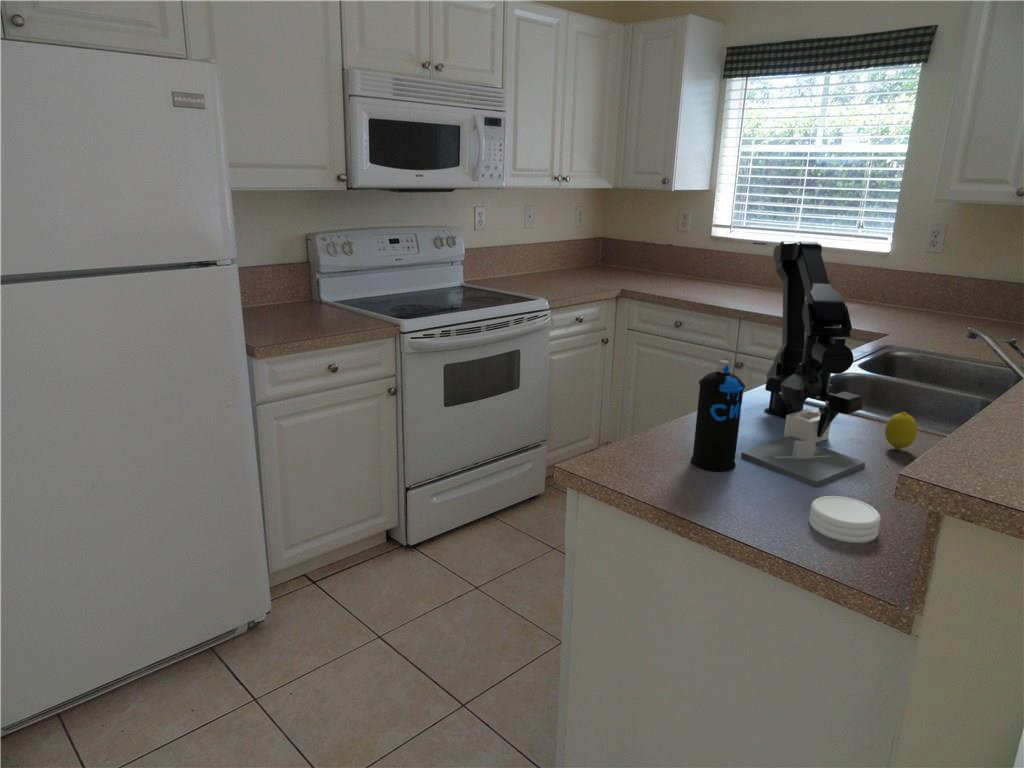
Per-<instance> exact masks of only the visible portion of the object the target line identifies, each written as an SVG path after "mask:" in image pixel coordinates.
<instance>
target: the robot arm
mask: <svg viewBox="0 0 1024 768" xmlns="http://www.w3.org/2000/svg"><path fill="white" fill-rule="evenodd" d="M822 246H823V245H822V244H821V243H820V242H818V241H784V240H781V242H780V243H779V244H777V245H775V247H774V249H773V252H772V253H773V254H772V256H773V257H772V258H773V262H774V263H775V271H776V273H777V275H778V277H779V278H780V280H781V281H782V332H781V333H782V336H781V337H782V338H781V339H782V340H781V343H782V344H781V347H780V348H779V350H778V351H777V353H776V354H775V356H774V360H773V361H774V362H773V363H772V365H771V367H770V369H769V370H768V372H767V373H766V382H765V387H764V389H765V391H767V392H770V397H769V405H768V407H766V408H764V410H763V411H764V412H766V413H769V414H773V415H775V416H778V417H781V418H785V419H786V415H788V414H791V413H794V412H798V411H801V410H804V406H805V405H804V404H805V402H806V400H807V399H811V400H814V399H815V400H816V399H817V400H818V401H823V402H824V406H821V407H818V411H820V414H821V415H820V420H819V426H818V432H817V437H822V435H823V434H824V432H825V431H826V430H827V428H828V427H829V425H830V426H831V423H832V422H833V421H834V420H835V419H836V417H837V416H838V415H839V414H843V415H849V414H850V415H851V414H852V413H856V412H858V411H861V410H863V406H864V401H863V400H864V399H863V398H862V396H861V395H859V394H856V393H852V392H849V391H844V390H843V391H841V392H837V393H836V394H835V393H832V392H829V391H832V390H833V387H834V386H833V384H831V383H830V382H831V376H832V375H840V374H844V373H845V372H846V371H848V370H849V369H850V368H851V367H852V365H853V362H854V354H853V350H852V349H851V348H850V347H849V346H847V345H846V338H850V337H851V331H852V329H853V327H852V322H851V321H852V320H851V317H850V311H849V309H848V305H847V304H846V302H845V301H844V298H843V296H842V294H841V293H840V292H839V291H837V290H836V289H835V288H833V287H832V285H831V283H830V278H829V275H828V272H827V268H826V266H825V262H824V259H823V255H822V253H823V252H822V251H823V249H822Z"/></svg>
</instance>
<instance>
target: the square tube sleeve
mask: <svg viewBox="0 0 1024 768" xmlns="http://www.w3.org/2000/svg"><path fill="white" fill-rule="evenodd" d="M820 415H821V414H820V411H819V410H813V409H811V408H803V410H801V411H798V412H794V413H791V414H788V415H786V418H785V423H784V425H785V426H784V430H783V431H784V432H783V437H785V438H786V437H789V436H793V437H795V438H798V439H801V440H804V441H813V442H814V443H815V444H817V443H819V441H820V442H822V440H823V441H825V440H828V439H829V435H830V429H831V424H830V425H829V427H828V428H827V430H826V431H825V432H824V434H823V435H822V437H817V432H818V426H819V420H820ZM827 438H828V439H827ZM816 442H817V443H816Z"/></svg>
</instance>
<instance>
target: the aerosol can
mask: <svg viewBox="0 0 1024 768" xmlns="http://www.w3.org/2000/svg"><path fill="white" fill-rule="evenodd" d="M730 364H731V361H729V360H726V359H720V360H718V366H717V367H718V368H717V370H716V371H713V372H709V373H708V374H705V375H704V376H703V377H702V378H701V379H699V381H698V384H699V392H698V393H699V394H698V402H697V412H696V422H695V429H694V430H695V432H694V440H693V441H694V442H693V449H692V450H693V451H692V456H691V458H690V462H691V463H692V464H693V465H694V466H695V467H697V468H699V469H701V470H704V471H709V472H714V473H715V472H716V473H717V472H719V473H721V472H722V473H725V472H729V471H733V470H734V469H735V468H736V467H737V465H736V464H737V463H736V462H735V461H736V453H737V447H738V446H737V445H738V437H739V429H740V421H741V413H742V405H743V398H744V397H743V396H744V390H745V388H746V384H745V383H744V382H743V381H742V380H741V378H740V377H738V376H737V375H735V374H733V373H731V372H730V366H731V365H730Z"/></svg>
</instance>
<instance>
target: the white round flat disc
mask: <svg viewBox="0 0 1024 768" xmlns="http://www.w3.org/2000/svg"><path fill="white" fill-rule="evenodd" d="M881 520H882V517H881V515H880V512H878V511H877V509H875V508H874V507H873V506H871V505H870V504H868V503H866V502H865V501H864V502H863V501H862V500H858V499H855V498H851V497H847V496H840V495H826V496H825V495H824V496H820V497H817V498H816V499H814V500H813V501H812V502H811V505H810V511H809V517H808V522H809V526H810V527H811V528H813V530H815V531H816V532H817V533H819V534H821V535H823V536H824V537H827V538H829V539H832V540H835V541H838V542H843V543H851V544H864V543H868V542H872V541H873V540H875V539H876V538H877V537H878V535H879V529H880V526H881V525H880V523H881Z"/></svg>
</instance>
